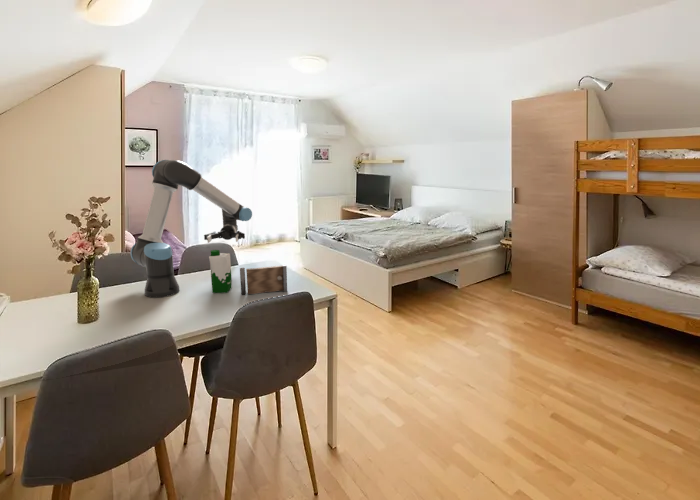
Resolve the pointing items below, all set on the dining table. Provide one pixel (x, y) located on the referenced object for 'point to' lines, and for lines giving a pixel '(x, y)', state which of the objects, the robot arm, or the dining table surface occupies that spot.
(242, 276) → the door frame
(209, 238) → the robot arm
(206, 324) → the dining table surface
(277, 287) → the door
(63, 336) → the dining table surface
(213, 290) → the soya milk
